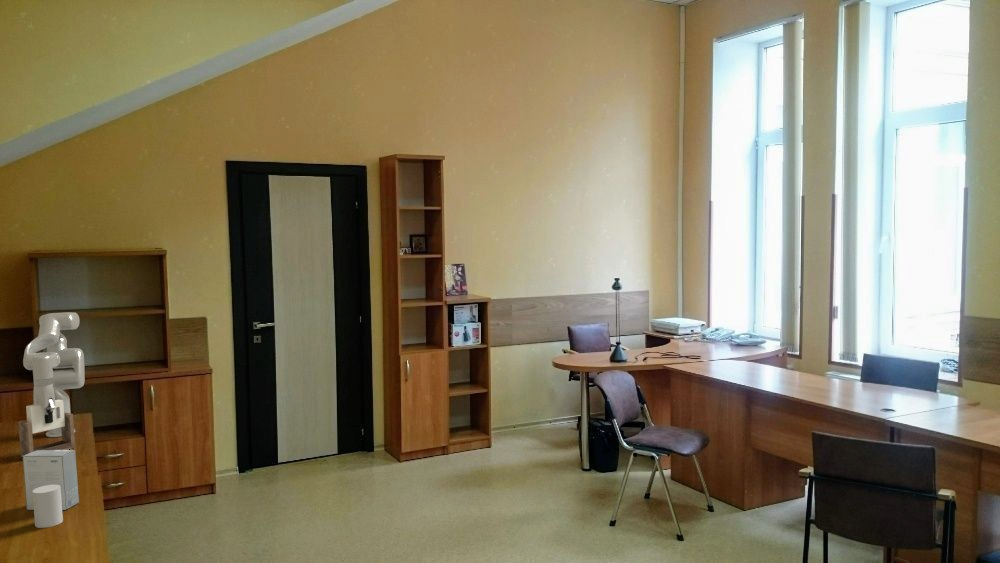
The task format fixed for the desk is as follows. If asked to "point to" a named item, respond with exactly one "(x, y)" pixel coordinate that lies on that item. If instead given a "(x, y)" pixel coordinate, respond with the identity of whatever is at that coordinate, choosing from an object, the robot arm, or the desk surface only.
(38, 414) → the door panel
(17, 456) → the desk surface
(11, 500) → the desk surface
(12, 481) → the desk surface
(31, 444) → the door frame
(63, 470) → the hard drive box
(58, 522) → the white cylinder
